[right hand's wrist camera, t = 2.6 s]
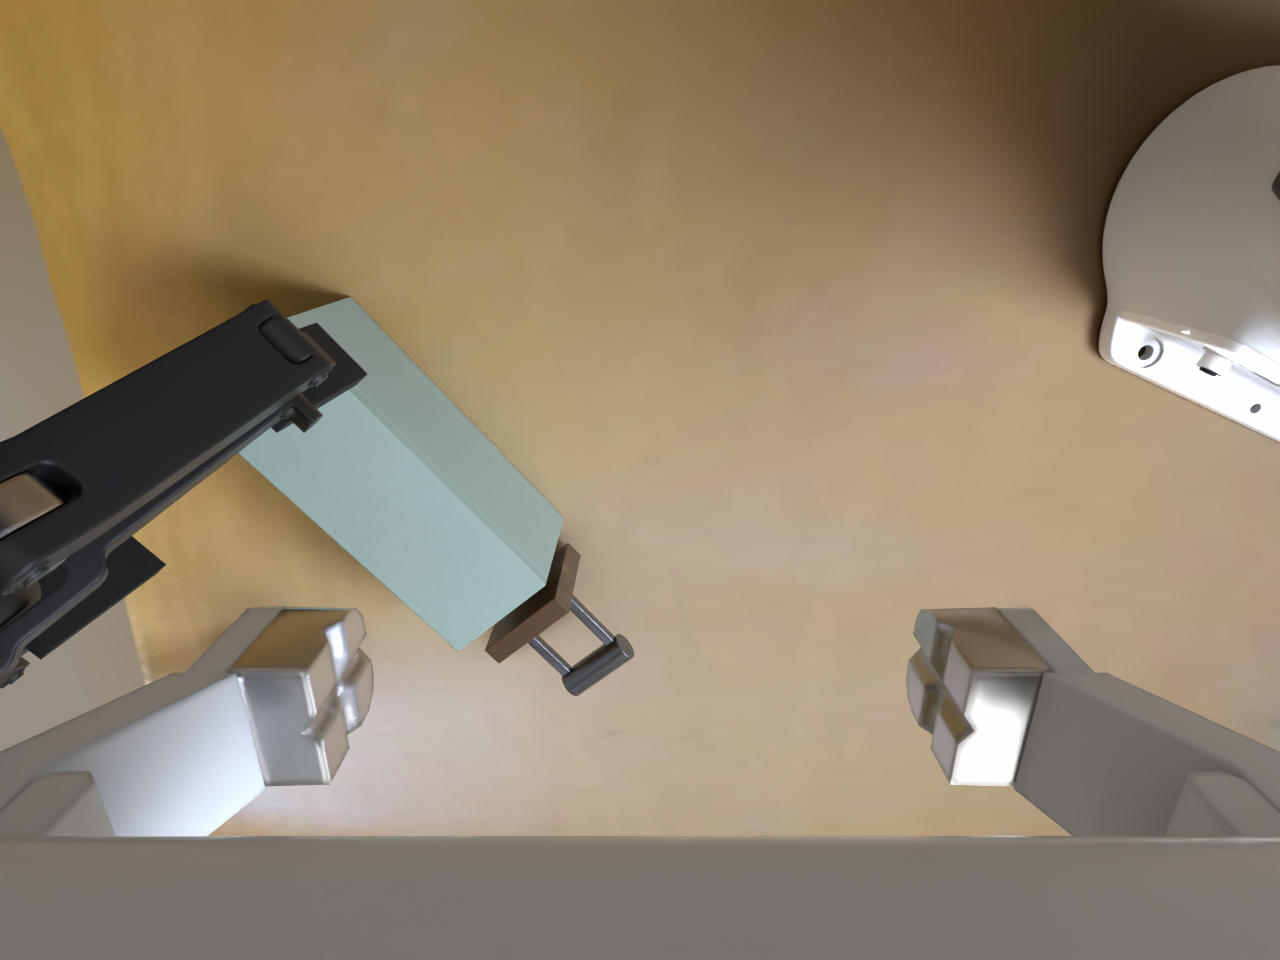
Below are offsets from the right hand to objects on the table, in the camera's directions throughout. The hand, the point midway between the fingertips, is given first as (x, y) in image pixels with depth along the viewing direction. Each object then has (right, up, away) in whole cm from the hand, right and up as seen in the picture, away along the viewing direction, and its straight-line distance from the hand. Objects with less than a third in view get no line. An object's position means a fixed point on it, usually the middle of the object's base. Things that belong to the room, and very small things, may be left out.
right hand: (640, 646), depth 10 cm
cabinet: (-13, +5, +34) cm, 36 cm away
